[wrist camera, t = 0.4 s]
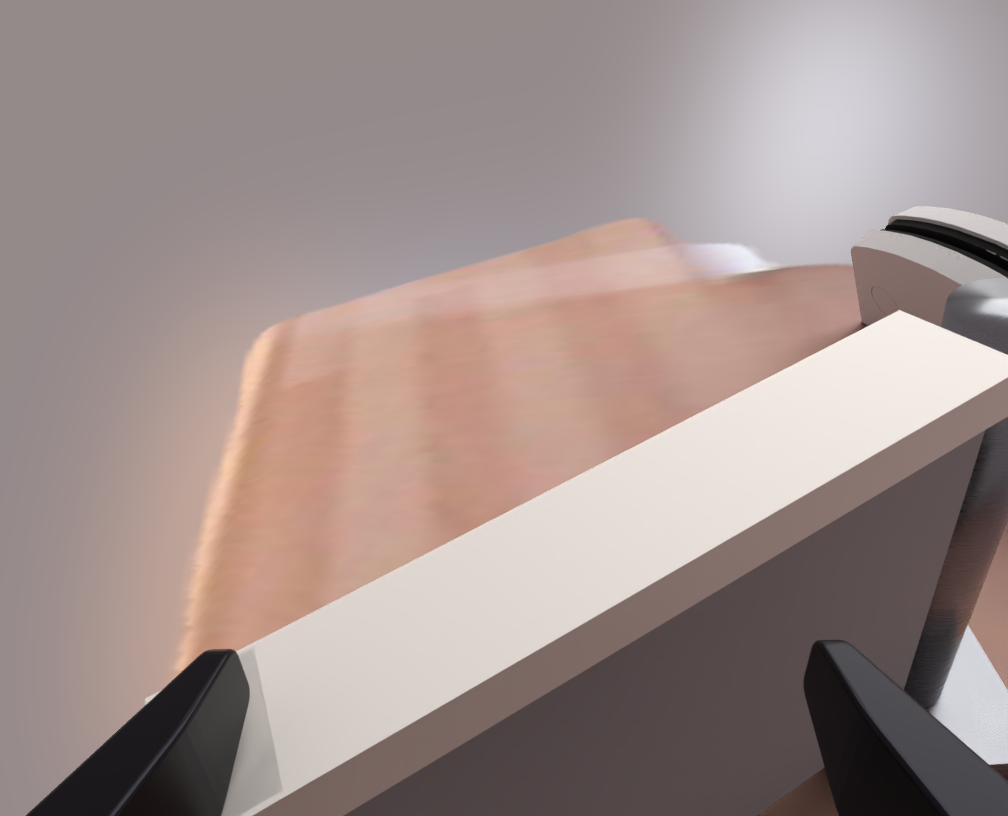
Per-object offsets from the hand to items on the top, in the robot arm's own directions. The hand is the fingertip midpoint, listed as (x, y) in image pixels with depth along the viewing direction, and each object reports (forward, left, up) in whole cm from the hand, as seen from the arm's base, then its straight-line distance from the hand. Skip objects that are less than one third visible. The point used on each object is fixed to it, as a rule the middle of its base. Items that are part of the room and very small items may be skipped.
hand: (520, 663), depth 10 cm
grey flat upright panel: (+3, -2, -15) cm, 15 cm away
